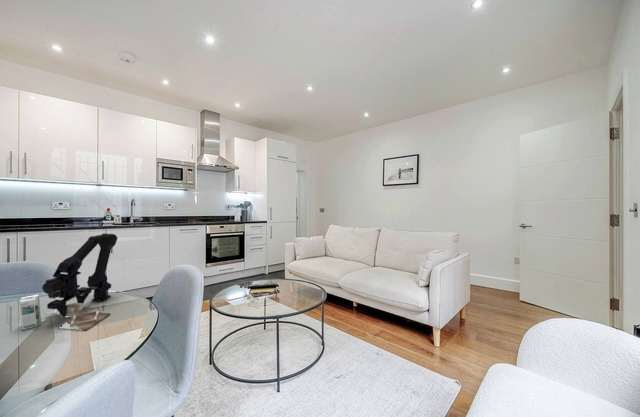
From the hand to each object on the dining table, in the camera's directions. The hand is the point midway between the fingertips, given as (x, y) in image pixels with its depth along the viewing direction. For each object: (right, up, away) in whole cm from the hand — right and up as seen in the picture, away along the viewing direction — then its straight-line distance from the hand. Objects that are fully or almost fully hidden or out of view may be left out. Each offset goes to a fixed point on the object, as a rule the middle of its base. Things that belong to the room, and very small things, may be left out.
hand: (71, 312), depth 137 cm
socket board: (+12, -3, -5) cm, 13 cm away
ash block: (0, -1, 0) cm, 1 cm away
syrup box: (-9, -2, -11) cm, 14 cm away
